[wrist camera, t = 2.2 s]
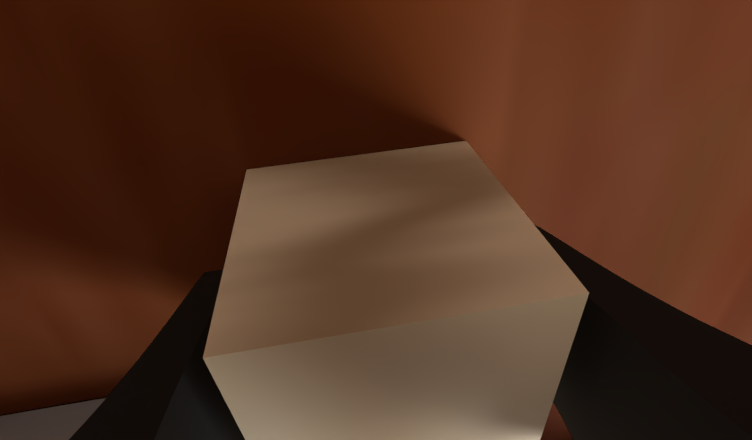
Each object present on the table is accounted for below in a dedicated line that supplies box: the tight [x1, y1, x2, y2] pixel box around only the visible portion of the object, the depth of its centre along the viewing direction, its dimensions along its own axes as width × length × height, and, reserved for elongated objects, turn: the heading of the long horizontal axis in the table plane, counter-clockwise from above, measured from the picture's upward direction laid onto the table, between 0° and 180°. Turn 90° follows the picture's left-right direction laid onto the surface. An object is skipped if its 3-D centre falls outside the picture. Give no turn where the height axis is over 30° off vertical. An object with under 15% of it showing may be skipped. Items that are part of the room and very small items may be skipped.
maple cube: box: [203, 141, 589, 440], centre depth 9 cm, size 5×5×5 cm
